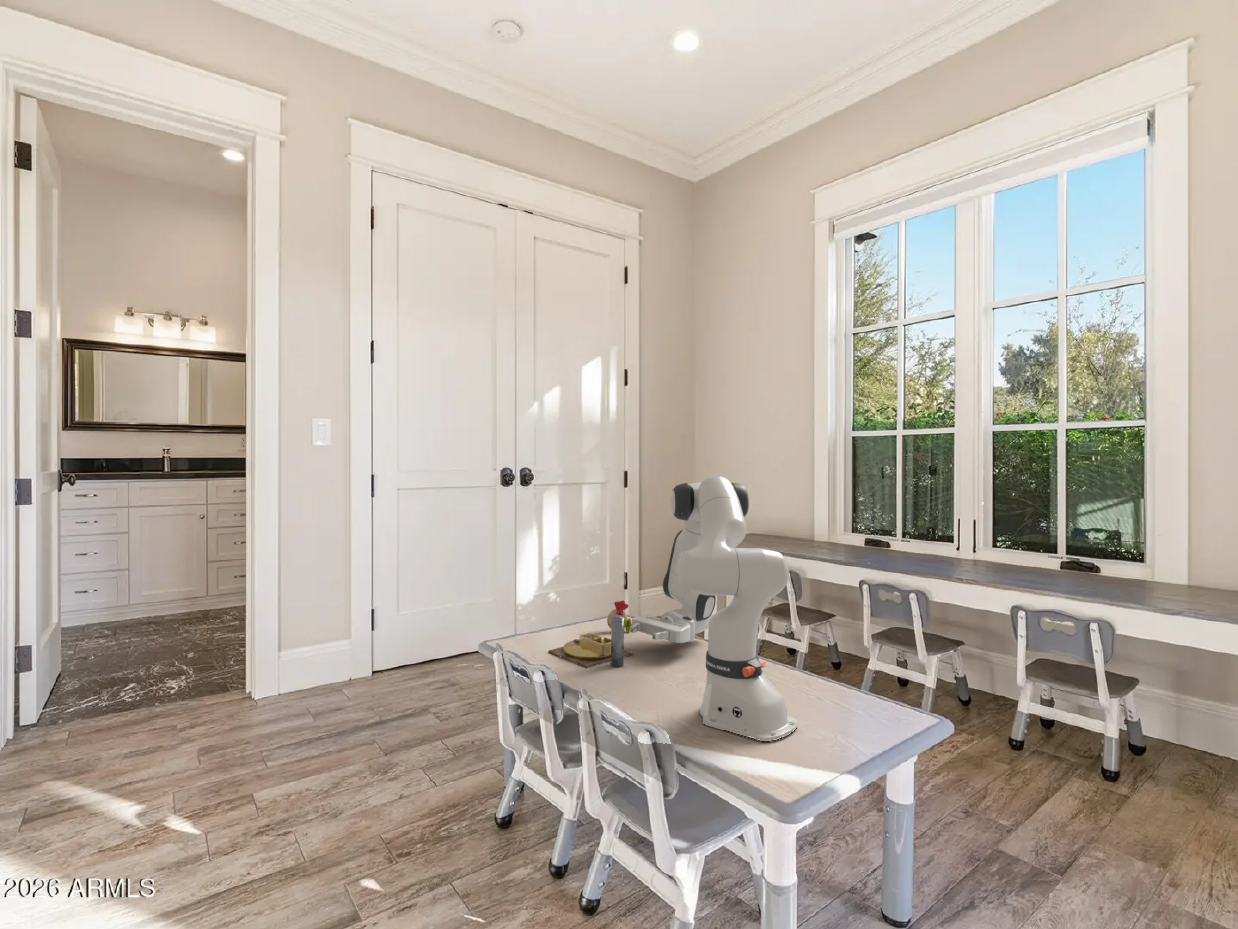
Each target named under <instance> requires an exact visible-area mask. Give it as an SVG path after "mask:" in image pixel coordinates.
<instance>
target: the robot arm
mask: <svg viewBox="0 0 1238 929" xmlns="http://www.w3.org/2000/svg"><path fill="white" fill-rule="evenodd" d="M750 504H751V503H750V496H749V493H748V490H747V488H746V487H745V486H744V485H743V484H741V483H736V482H731V481H729V479H727V478H726V477H723V476H719V475H713V476H710V477H707V478H705V479H704V480H702V482H701V481H699V482H691V483H687V482H684V483H680V484H676V485H675V486H674V487H673V489H672V492H671V494H670V497H669V506H670V509H671V511H672V515H673V516H674V517H675V518H676V519H677V520H680V521H683V528H682V529H681V530H679V531H678V533H677V534H676V535H675V537H674V538H673V543H672V547H671V551H670V556H669V559H668V560H669V561H668V565H667V570H666V573H665V575H664V578H663V580H662V590H663V593H664V595H665V596H667V597H668V598H670V599H671V600H674V601H676V602H678V603H679V604H681V605H682V606H681V608H678V609H673V610H669V611H665V612H664V613H663V614H662V615H661V616H660V617H657V616H652V615H641V616H640V615H639V616H635V617H633V618H632V619H631V624H632V626H630V631H629V633H633V634H635V633H637V632H640V633H644V634H646V635H650V636H652V639H653V640H655V641H658V640H666V641H668V642H673V643H676V644H683V643H687V642H688V643H689V642H690V643H692V642H694V641H695V637H696V636H695V635H697V634H701V633H702V632H704V631H706V630H708V636H707V637H708V638H707V645H708V646H707V651H706V654H705V669H706V677H705V678H706V681H705V688H704V693H703V698H702V702H701V705H700V708H699V713H700V715H701V716H702V723H703V725H704V724H705V725H704V726H708V727H711V728H715V729H717V730H721V731H724V730H728V731H731V732H735V733H738V734H742V735H745V736H751V737H754V738H756V739H760V740H762V741H769V740H774V739H778V738H780V737H782V736H786V735H788V734H789V733H791V732H792V731H793V730H795V729H796V728H797V729H798V727H797V724H798V720H797V719H796V718H794V717H791V716H790V715H789V714H788V707H787V701H786V699H785V697H784V696H783V694H781V692H780V691H779V690H778V689H777V688H776V687H775V685H773V684H772V683H771V682H770V681H769V679H768V678H767V677H766V676H765V675H764V674H763V668H765V667H766V665H765V664H766V663H767V661H763V662H761V663H760V660H759V658H758V655H757V637H758V629H759V628H758V625H759V622H760V618H761V617H762V614H763V612H764V609H766V607H767V605H768V604H769V602H771V601H772V600H773V598H774V597H775V596H776V595H778V594H779V593H781V592H782V591H783V590H784V589H785V587H786V586H787V584H788V581H789V578H790V568H789V565H788V562H787V560H786V558H785V557H784V556H783V554H782V553H780V552H779V551H775V550H772V549H768V548H762V547H755V548H754V547H738V546H739V545H740V544H741V543H742V542H743V540H744V539H745V537H746V535H747V525H746V520H745V517H746V516H747V514H748V513H749V508H750ZM716 596H733V598H732V600H731V602H730V603H729V604H728V605H727V606H726V607H724V608H722V609H720V610H718V611H717V612H715V613H714V610H715V608H716V607H715V606H716V604H717V602H716V601H717V600H716ZM797 729H796V730H797ZM796 730H795V731H796ZM731 732H730V733H731Z"/></svg>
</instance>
